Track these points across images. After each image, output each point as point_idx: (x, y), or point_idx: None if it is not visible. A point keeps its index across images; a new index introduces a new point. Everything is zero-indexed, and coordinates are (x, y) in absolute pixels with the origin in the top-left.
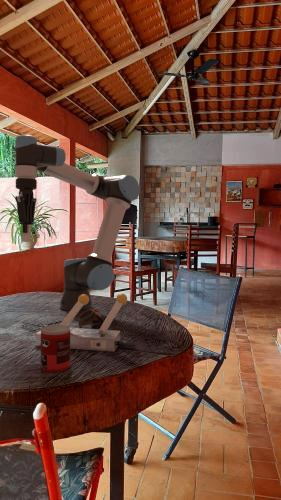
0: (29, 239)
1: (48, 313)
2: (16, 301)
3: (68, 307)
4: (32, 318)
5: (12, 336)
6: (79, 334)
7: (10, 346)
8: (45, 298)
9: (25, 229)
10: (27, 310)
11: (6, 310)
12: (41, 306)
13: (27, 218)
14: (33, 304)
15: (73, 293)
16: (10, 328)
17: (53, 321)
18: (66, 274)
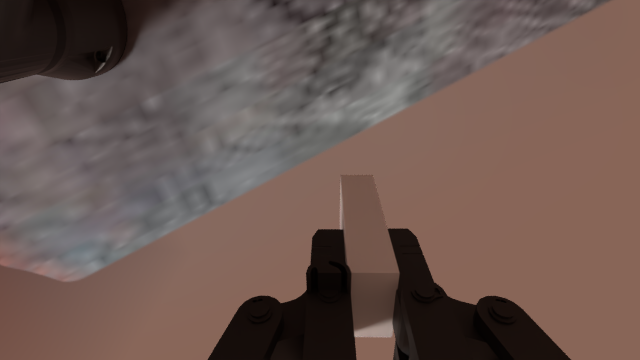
0: (368, 184)
1: (185, 80)
2: (101, 233)
3: (120, 25)
4: (256, 102)
5: (435, 71)
6: None
7: (520, 32)
8: (15, 175)
9: (420, 255)
10: (179, 157)
11: (203, 209)
12: (116, 141)
13: (458, 345)
14: (106, 174)
15: (67, 9)
16: (366, 112)
17: (268, 21)
18: (5, 57)
